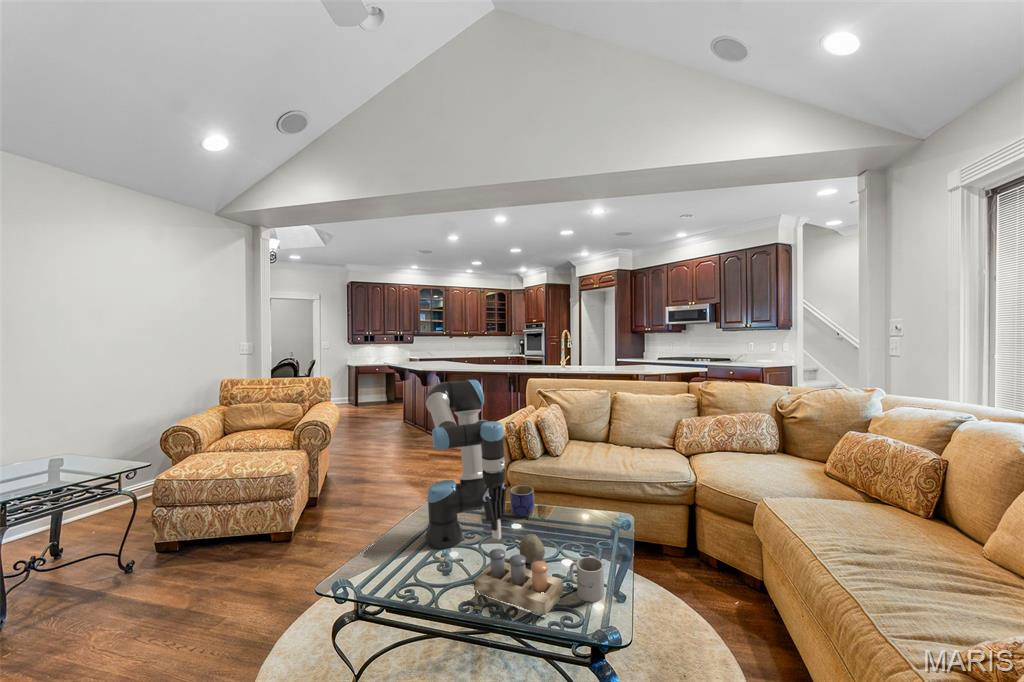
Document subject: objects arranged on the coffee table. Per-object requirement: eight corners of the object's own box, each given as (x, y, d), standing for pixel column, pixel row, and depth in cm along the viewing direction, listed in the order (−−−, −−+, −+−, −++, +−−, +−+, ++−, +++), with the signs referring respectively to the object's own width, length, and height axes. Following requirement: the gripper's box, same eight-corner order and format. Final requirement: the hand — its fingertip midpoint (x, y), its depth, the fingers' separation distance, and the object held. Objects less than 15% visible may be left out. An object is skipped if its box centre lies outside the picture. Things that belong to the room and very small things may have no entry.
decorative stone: (515, 558, 169) (514, 533, 169) (534, 552, 173) (534, 527, 172) (528, 572, 160) (527, 545, 159) (548, 565, 164) (547, 539, 163)
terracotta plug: (528, 588, 143) (527, 567, 143) (536, 579, 148) (535, 559, 147) (543, 593, 140) (542, 572, 140) (551, 584, 145) (550, 563, 145)
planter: (505, 514, 205) (504, 491, 204) (521, 505, 213) (520, 483, 212) (524, 521, 198) (523, 497, 197) (539, 512, 206) (538, 488, 205)
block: (475, 593, 150) (474, 579, 150) (496, 572, 161) (496, 559, 161) (545, 618, 136) (544, 603, 136) (563, 594, 148) (562, 579, 147)
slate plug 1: (487, 574, 152) (486, 554, 151) (495, 566, 156) (494, 547, 156) (500, 579, 149) (499, 559, 148) (509, 570, 153) (508, 551, 153)
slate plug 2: (507, 581, 147) (506, 561, 147) (515, 572, 152) (514, 553, 151) (521, 586, 145) (520, 565, 144) (529, 577, 149) (528, 557, 149)
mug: (609, 594, 147) (609, 565, 146) (590, 605, 142) (589, 575, 141) (583, 576, 157) (582, 549, 156) (564, 586, 152) (563, 558, 151)
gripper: (492, 477, 142) (495, 549, 144) (513, 464, 153) (516, 531, 155) (472, 474, 146) (476, 544, 148) (494, 461, 157) (497, 526, 159)
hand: (496, 537), depth 151 cm, fingers closed
